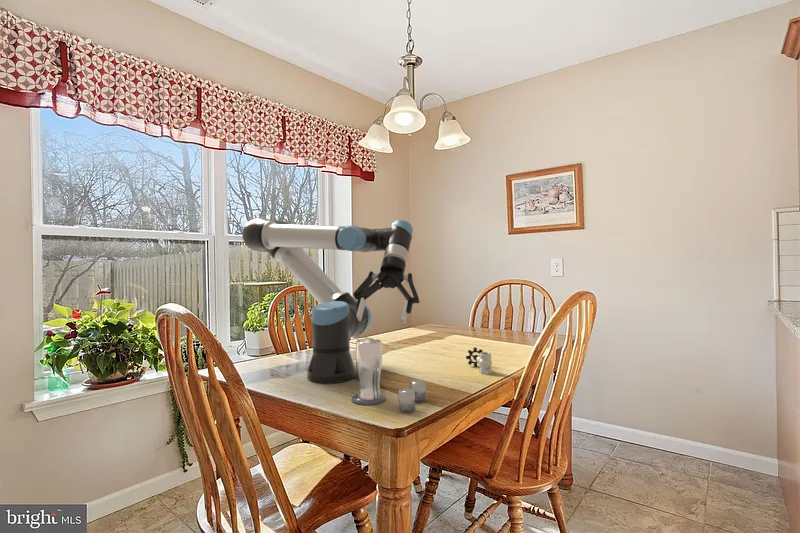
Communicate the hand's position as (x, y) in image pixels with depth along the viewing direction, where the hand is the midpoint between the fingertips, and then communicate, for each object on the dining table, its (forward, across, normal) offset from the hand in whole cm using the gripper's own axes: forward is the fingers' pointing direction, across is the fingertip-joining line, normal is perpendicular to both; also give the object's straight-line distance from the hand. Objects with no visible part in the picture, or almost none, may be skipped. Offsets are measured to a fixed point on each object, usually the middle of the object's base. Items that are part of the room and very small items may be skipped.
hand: (380, 320), depth 128 cm
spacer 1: (+26, -13, +3) cm, 29 cm away
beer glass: (+22, -1, -2) cm, 22 cm away
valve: (-1, -28, -31) cm, 42 cm away
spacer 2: (+21, -14, -4) cm, 25 cm away
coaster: (+22, -1, -2) cm, 23 cm away
